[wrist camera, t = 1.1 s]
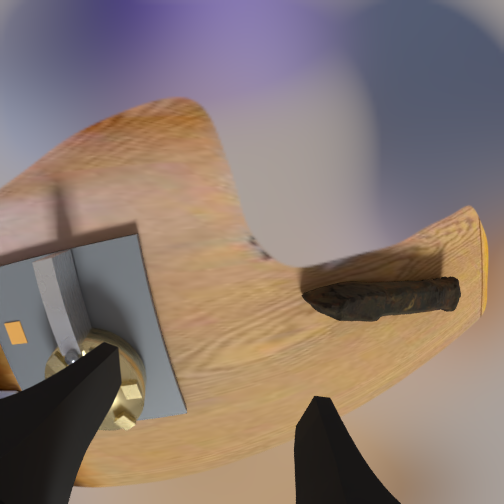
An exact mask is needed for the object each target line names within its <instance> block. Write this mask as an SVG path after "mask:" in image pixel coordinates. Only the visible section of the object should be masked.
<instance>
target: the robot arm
mask: <svg viewBox="0 0 504 504" xmlns="http://www.w3.org/2000/svg"><path fill="white" fill-rule="evenodd" d="M121 384H122V380H121V370H120V359H119V347H117V346H114V345H111V344H109V343H106V342H103V343H101V344H100V345H98V346H97V347H95V348H94V349H92V350H91V351H89V352H88V353H87V354H85V355H84V356H82V357H81V358H79V359H78V360H76V361H75V362H73V363H71V364H70V365H68V366H67V367H65V368H64V369H62V370H60V371H59V372H57V373H55V374H54V375H52V376H50V377H48V378H47V379H45V380H43V381H41V382H39V383H37V384H35V385H33V386H31V387H29V388H27V389H25V390H23V391H20V392H18V391H0V504H68V502H69V498H70V494H71V491H72V487H73V484H74V481H75V479H76V476H77V473H78V470H79V467H80V465H81V462H82V460H83V457H84V455H85V452H86V450H87V448H88V446H89V445H90V443H91V441H92V439H93V438H94V436H95V434H96V432H97V431H98V429H99V427H100V425H101V424H102V422H103V420H104V419H105V417H106V415H107V413H108V412H109V410H110V408H111V407H112V405H113V403H114V400H115V398H116V396H117V393H118V391H119V389H120V386H121ZM294 461H295V482H296V484H295V485H296V504H401V503H400V502H399V501H398V500H397V499H395V497H394V496H393V495H392V494H391V493H390V492H389V491H388V490H387V489H386V488H385V487H384V486H383V484H382V483H381V482H380V481H379V479H378V478H377V477H376V475H375V474H374V473H373V471H372V470H371V469H370V467H369V466H368V464H367V463H366V461H365V460H364V458H363V457H362V455H361V453H360V452H359V450H358V449H357V447H356V445H355V444H354V442H353V440H352V438H351V436H350V435H349V433H348V431H347V429H346V427H345V425H344V424H343V422H342V420H341V418H340V416H339V414H338V412H337V410H336V408H335V406H334V404H333V402H332V400H331V399H330V398H328V397H319V396H314V398H313V399H312V401H311V403H310V404H309V406H308V408H307V409H306V411H305V413H304V414H303V416H302V417H301V419H300V421H299V422H298V424H297V425H296V431H295V443H294Z"/></svg>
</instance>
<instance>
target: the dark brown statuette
mask: <svg viewBox="0 0 504 504" xmlns="http://www.w3.org/2000/svg"><path fill="white" fill-rule="evenodd" d="M302 297H303V298H304V300H305V301H306V302H308V303H309V304H310V305H311V306H312V307H313V308H314V309H315V310H317V311H318V312H320V313H322V314H325V315H327V316H330V317H332V318H334V319H336V320H339V321H370V322H372V321H377V320H378V319H379V318H380V317H381V316H388V315H400V314H412V313H420V312H427V311H434V310H440V309H441V310H444V311H446V312H448V311H454V310H455V309H456V307H457V304H458V302H459V298H460V297H461V292H460V287H459V281H458V279H456V278H455V277H448V278H447V277H441V278H436V279H433V280H429V279H428V280H422V281H401V282H371V283H364V282H356V281H351V282H343V283H337V284H333V285H329V286H325V287H322V288H318V289H315V290H313V291H310V292H307V293H304V294H303V295H302Z"/></svg>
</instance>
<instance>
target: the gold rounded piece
mask: <svg viewBox="0 0 504 504" xmlns="http://www.w3.org/2000/svg"><path fill="white" fill-rule="evenodd" d="M32 264H33V268H34V272H35V276H36V280H37V284H38V287H39V291H40V294H41V298H42V301H43V304H44V308H45V311H46V314H47V317H48V320H49V323H50V325H51V328H52V331H53V334H54V336H55V339H56V342H57V344H58V346H57V348H56V349H55V350H54V352H53V353H52V355H51V356H50V357H49V359H48V361H47V363H46V367H45V379H47V378H48V377H50V376H52V375H54V374H55V373H57V372H59V371H60V370H62V369H64V368H65V367H67V366H68V365H70V364H71V363H73V362H75V361H76V360H78V359H79V358H81V357H82V356H84V355H85V354H87V353H88V352H89V351H91V350H92V349H94V348H95V347H97V346H98V345H100V344H101V343H103V342H106V343H109V344H111V345H114V346H117V347H119V359H120V370H121V380H122V384H121V386H120V389H119V391H118V393H117V396H116V398H115V400H114V403H113V405H112V407H111V408H110V410H109V412H108V413H107V415H106V417H105V419H104V420H103V422H102V424H101V425H100V427H99V430H118V429H122V428H123V429H124V430H125V431H127V430H129V429H130V428H131V427H133V426H134V425H136V420H137V419H138V418H139V417H140V415H141V413H142V411H143V408H144V400H145V391H146V381H147V376H146V370H145V366H144V364H143V361H142V359H141V358H140V356H139V354H138V353H137V352H136V350H135V349H134V348H133V347H132V346H131V345H130V344H129V343H128V342H127V341H125V340H124V339H123V338H121V337H120V336H118V335H116V334H114V333H112V332H110V331H107V330H104V329H100V328H92V326H91V323H90V320H89V316H88V313H87V310H86V307H85V303H84V300H83V297H82V293H81V289H80V286H79V282H78V278H77V274H76V270H75V266H74V262H73V258H72V253H71V249H70V250H66V251H62V252H58V253H54V254H51V255H49V256H46V257H44V258H42V259H39V260H37V261H35V262H32Z"/></svg>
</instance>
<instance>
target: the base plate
mask: <svg viewBox="0 0 504 504" xmlns="http://www.w3.org/2000/svg"><path fill="white" fill-rule="evenodd" d="M70 249H71V253H72V258H73V262H74V266H75V270H76V274H77V278H78V282H79V286H80V289H81V293H82V297H83V300H84V303H85V307H86V310H87V313H88V316H89V320H90V323H91V326H92V328H100V329H104V330H107V331H110V332H112V333H114V334H116V335H118V336H120V337H121V338H123V339H124V340H125V341H127V342H128V343H129V344H130V345H131V346H132V347H133V348H134V349H135V350H136V352H137V353H138V354H139V356H140V358H141V359H142V361H143V364H144V366H145V370H146V376H147V381H146V391H145V400H144V408H143V411H142V413H141V415H140V417H139V418H138V419H137V420H145V419H153V418H160V417H166V416H173V415H179V414H185V413H187V408H186V405H185V402H184V400H183V397H182V394H181V391H180V388H179V386H178V383H177V380H176V377H175V374H174V371H173V368H172V365H171V362H170V358H169V355H168V352H167V349H166V346H165V342H164V339H163V335H162V332H161V328H160V325H159V321H158V318H157V314H156V310H155V306H154V303H153V299H152V295H151V291H150V287H149V282H148V278H147V274H146V269H145V265H144V260H143V256H142V251H141V246H140V241H139V236H138V234H134V235H129V236H124V237H119V238H115V239H110V240H106V241H101V242H96V243H92V244H88V245H83V246H79V247H75V248H70ZM70 249H66V250H70ZM66 250H62V251H66ZM62 251H58V252H62ZM58 252H54V253H58ZM54 253H50V254H45V255H41V256H37V257H33V258H30V259H26V260H22V261H18V262H14V263H10V264H7V265H3V266H0V344H1V346H2V349H3V351H4V353H5V356H6V358H7V360H8V363H9V365H10V367H11V369H12V371H13V373H14V375H15V377H16V379H17V381H18V383H19V385H20V387H21V389H22V391H23V390H25V389H27V388H29V387H31V386H33V385H35V384H37V383H39V382H41V381H43V380H45V367H46V363H47V361H48V359H49V357H50V356H51V355H52V353H53V352H54V350H55V349H56V348H57V346H58V344H57V342H56V339H55V336H54V334H53V331H52V328H51V325H50V323H49V320H48V317H47V314H46V311H45V308H44V304H43V301H42V298H41V294H40V291H39V287H38V284H37V280H36V276H35V272H34V268H33V264H32V262H35V261H37V260H39V259H42V258H44V257H46V256H49V255H51V254H54Z"/></svg>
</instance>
